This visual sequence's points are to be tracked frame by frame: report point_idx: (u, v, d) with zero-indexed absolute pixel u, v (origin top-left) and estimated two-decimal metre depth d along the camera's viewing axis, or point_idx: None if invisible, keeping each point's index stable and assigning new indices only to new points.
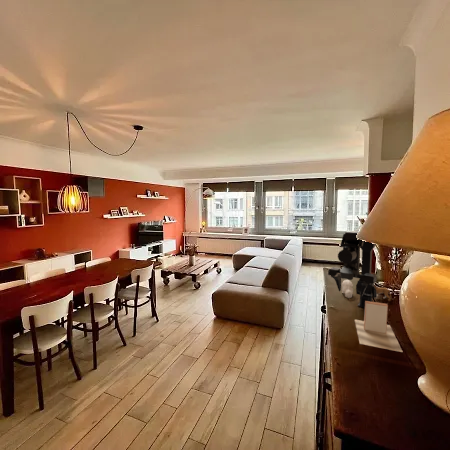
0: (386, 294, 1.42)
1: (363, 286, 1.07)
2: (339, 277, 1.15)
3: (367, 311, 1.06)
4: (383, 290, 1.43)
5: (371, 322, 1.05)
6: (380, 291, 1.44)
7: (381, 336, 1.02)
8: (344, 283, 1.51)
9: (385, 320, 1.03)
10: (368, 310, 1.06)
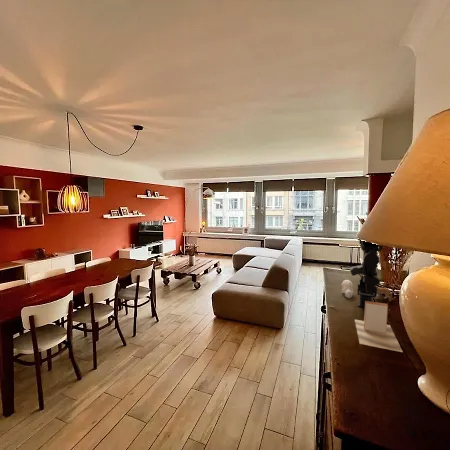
0: (387, 294, 1.42)
1: (365, 283, 1.19)
2: None
3: (367, 311, 1.06)
4: (384, 290, 1.43)
5: (371, 322, 1.05)
6: (381, 291, 1.44)
7: (381, 336, 1.02)
8: (344, 283, 1.51)
9: (385, 320, 1.03)
10: (368, 310, 1.06)
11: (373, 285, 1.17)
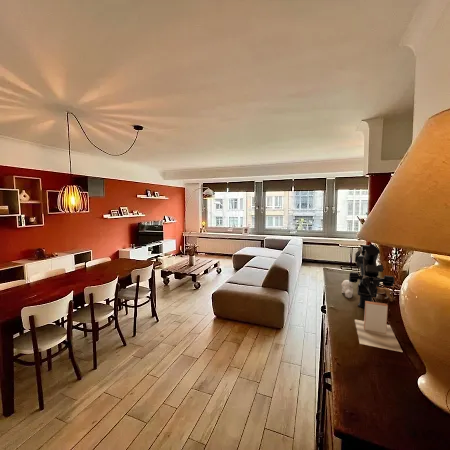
0: (388, 294, 1.41)
1: (374, 284, 1.18)
2: None
3: (367, 311, 1.06)
4: (385, 290, 1.43)
5: (371, 322, 1.05)
6: (382, 291, 1.44)
7: (381, 336, 1.02)
8: (344, 283, 1.51)
9: (385, 320, 1.03)
10: (368, 310, 1.06)
11: (375, 288, 1.19)
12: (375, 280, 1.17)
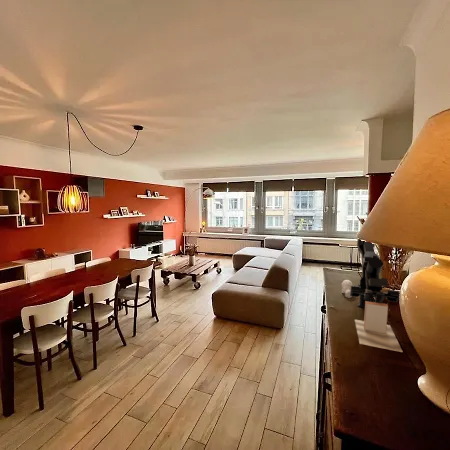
0: None
1: (377, 299, 1.08)
2: None
3: (367, 311, 1.05)
4: (386, 290, 1.42)
5: (371, 322, 1.05)
6: (383, 291, 1.43)
7: (381, 336, 1.02)
8: (344, 283, 1.51)
9: (385, 320, 1.03)
10: (368, 310, 1.05)
11: None
12: (379, 295, 1.08)
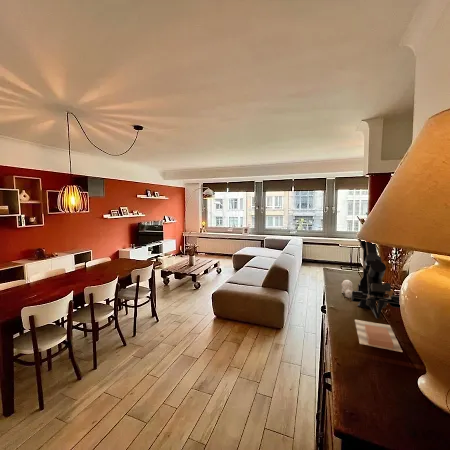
0: (391, 295, 1.41)
1: (380, 306, 1.02)
2: None
3: None
4: (387, 291, 1.42)
5: None
6: None
7: None
8: (344, 283, 1.51)
9: None
10: None
11: None
12: (381, 301, 1.02)
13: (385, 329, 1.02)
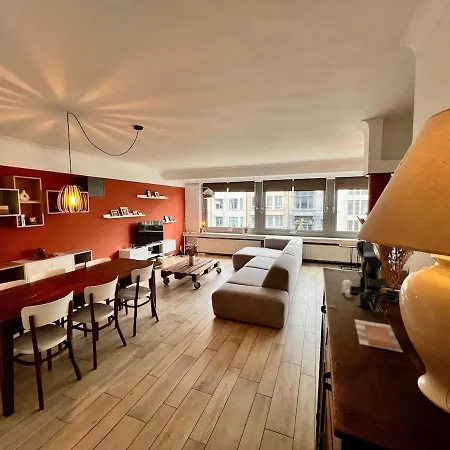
0: None
1: (376, 299, 1.11)
2: None
3: None
4: None
5: None
6: None
7: None
8: (344, 283, 1.51)
9: None
10: None
11: None
12: (377, 295, 1.11)
13: (385, 329, 1.02)
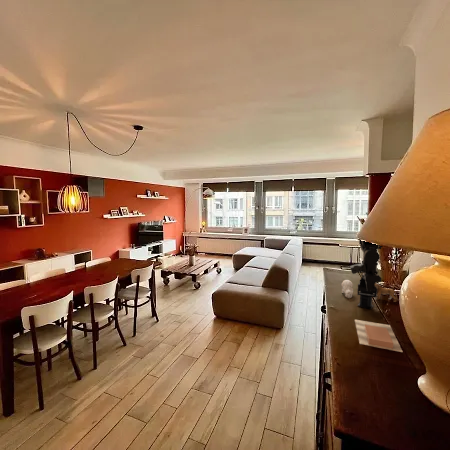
0: (392, 295, 1.40)
1: (366, 281, 1.19)
2: None
3: None
4: (389, 291, 1.42)
5: None
6: (386, 292, 1.43)
7: None
8: (344, 283, 1.51)
9: None
10: None
11: (373, 283, 1.17)
12: (363, 278, 1.19)
13: (385, 329, 1.02)
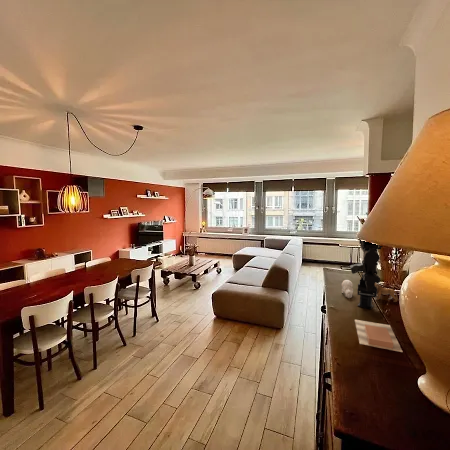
0: (392, 295, 1.40)
1: (365, 281, 1.19)
2: None
3: None
4: (389, 291, 1.41)
5: None
6: (386, 292, 1.42)
7: None
8: (344, 283, 1.51)
9: None
10: None
11: (373, 283, 1.17)
12: None
13: (385, 329, 1.02)
